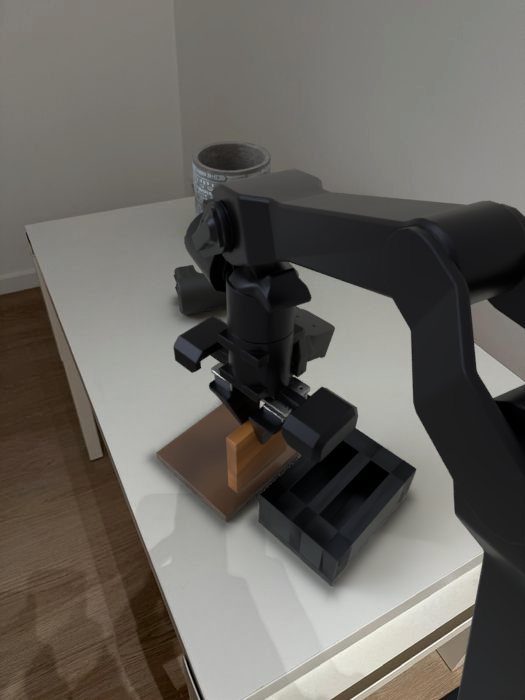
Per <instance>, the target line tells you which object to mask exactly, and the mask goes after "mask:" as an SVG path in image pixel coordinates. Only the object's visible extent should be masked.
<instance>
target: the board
mask: <svg viewBox="0 0 525 700" xmlns="http://www.w3.org/2000/svg"><path fill="white" fill-rule="evenodd" d="M240 426H241V425H240V423H239V422H238V421H237V420H236V418H235V417H234V416H233V415H232V414H231V412H230V411H229V410H228V409H227V408H226V406H225V405H224V404H223V403H221V404H220V405H219V406H217V407H216V408H214V409H213V410H212V411H210V412H209V413H208V414H206V415H205V416H204V417H202V418H201V419H199V420H198V421H196V422H195V423H194V424H193V425H191V426H190V427H189V428H187V429H186V430H184V431H183V432H182V433H181V434H179V435H178V436H177V437H175V438H174V439H173V440H171V441H170V442H169V443H167V444H165V446H163V447H162V448H160V449H159V450H158V451H156V452H155V454H156V459H157V460H158V461H159V462H160V463H161V464H162V465H163V466H164V467H166V468H167V469H168V470H169V471H170V472H171V473H172V475H174V476H175V477H176V478H177V479H178V480H179V481H180V482H181V483H183V484H184V485H185V486H186V487H187V488H188V489H189V490H190V491H191V492H193V494H195V495H196V497H198V498H199V499H200V500H201V501H202V502H203V503H204V504H205V505H206V506H208V507H209V508H210V510H212V511H213V512H214V513H215V514H216V515H217V516H218V517H219V518H221V519H222V520H223V521H224V522H225V523H228V521H229V520H231V518H233V517H234V516H235V515H236V514H237V513H238V512H239V511H240V510H241V509H243V507H244V506H245V505H247V504H248V503H249V502H250V501H251V500H252V499H253V498H254V497H256V495H257V494H259V493H260V492H261V491H262V490H263V489H264V488H265V487H266V486H267V485H268V484H269V483H271V482H273V481H274V479H275V478H277V476H279V474H280V473H282V472H283V471H285V470H286V469H287V467H288V466H289V465H290V464H292V462H294V460H296V459H298V456H299V455H298V454H299V453H298V452H297V451H295V450H294V449H293V448H291V447H290V446H289V445H288V444H287V446H286V450H285V451H284V452H283V453H282V454H281V455H280V456H279V457H278V458H276V459H275V460H274V461H273V462H272V463H271V464H270V465H269V466H268V467H266V468H265V469H264V470H263V471H262V472H261V473H260V474H259V475H258V476H256V477H255V478H254V479H253V480H252V481H251V482H250V483H249V484H247V485H246V486H245V487H244V488H243V489H242V490H241V491H240V492H239V493H236V492H235V491H234V490H232V489H231V488H230V487H229V486H228V465H227V445H226V437H228V436H229V435H230V434H231V433H233V432H234V431H235V430H236V429H238V428H239V427H240Z"/></svg>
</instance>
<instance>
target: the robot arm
mask: <svg viewBox="0 0 525 700" xmlns="http://www.w3.org/2000/svg"><path fill="white" fill-rule="evenodd" d="M211 193H212V196H213V198H211V199H207V200H203V201H202V204H203V212H202V213H200V214H199V215H198V216H197V215H196V216H195V217H194V219H192V221H191V222H190V223H189V225H188V227H187V229H186V232H185V235H184V237H183V241H184V246H185V250H186V251H187V253H188V255H189V256H190V257H191V259H192V260H193V262H194V263H195V264H196V266H197V267H198V269H200V271H201V273H203V274H204V275H205V277H206V278H207V279H208V281H209V282H210V284H211V285H212V286H213V288H214V289H215V290H216V291H221V292H225V293H226V299H227V307H226V321H224V320H222V319H221V318H218V317H216V316H214V315H211V316H209V317H208V318H206V319H204V320H203V321H201V322H199V323H198V324H196V325H194V326H192V327H191V328H189V329H188V330H186V331H184V332H183V333H181V334H180V335H178V336H177V337H176V340H175V342H174V343H173V347H172V348H173V354H174V361H175V362H177V364H179V365H180V366H181V367H183V368H185V370H187V371H188V372H190V373H191V374H194V373H196V372H198V371H199V370H201V369H202V362H203V360H206V359H207V358H209V357H212V358H213V359H214V360H216V361H217V364H215V365H214V366H212V367H211V368H210V372H211V373H212V375H213V377H214V379H213V380H211V381H210V382H209V383H208V389H209V390H210V392H211V393H213V394H214V395H215V397H217V399H218V400H219V401H220V402H221V404H224V405H225V406H226V408H227V409H228V410H229V411H230V412H231V414H232V415H233V416H234V417H235V418H236V420H237V421H238V422H239V423H240V425H243V424H244V423H245V422H246V421H248V420H249V421H250V423H251V425H252V427H253V430H254V432H255V435H256V437H257V439H258V441H259V442H260V444H262V445H264V444H265V443H266V442H267V441H268V440H269V439H270V438H271V436H272V435H275V434H277V433H278V432H279V431H280V430H281V429H282V433H281V434H282V436H283V438H284V439H285V441H286V443H287V444H288V445H289V446H290V447H291V448H293V449H294V450H295V451H297V452H298V454H299V455H300V456H303V457H305V458H306V459H307V460H309V461H310V462H321V461H322V460H323V459H324V458H325V457H326V456H327V455H328V454H329V453H330V452H331V451H332V450H333V449H334V448H335V447H336V446H337V445H338V444H339V443H340V442H341V441H342V440H343V439H345V438H346V437H347V436H348V435H349V434H350V433H351V432H352V431H353V430H354V429H355V428H357V423H358V418H359V411H358V407H357V406H355V405H354V404H353V403H351V402H350V401H349V400H346V399H345V398H343V397H342V396H340V395H338V394H337V393H336V392H334V391H333V390H331V389H329V388H328V387H326V386H320V387H319V388H318V389H317V390H315V392H313V393H312V394H311V395H310V392H311V389H312V388H311V386H310V385H308V384H307V383H305V382H304V381H302V380H300V378H299V377H300V376H302V375H303V374H305V373H306V371H307V366H308V362H309V363H310V362H312V361H314V360H317V359H319V358H320V359H323V358H325V357H326V356H327V353H328V350H329V347H330V345H331V342H332V339H333V336H334V333H335V331H336V327H335V326H334V325H333V324H332V323H330V322H328V321H327V320H325V319H324V318H321V317H319V316H318V315H316V314H314V313H312V312H311V311H309V310H307V309H305V308H302V307H301V308H300V307H299V306H301V305H304V304H307V303H310V302H311V301H312V293H311V292H310V289H309V287H308V285H307V284H306V283H305V282H304V281H303V280H302V279H301V278H300V273H299V271H298V270H297V269H296V268H295V267H294V266H293V265H296V266H299V267H302V268H305V269H307V270H310V271H313V272H316V273H317V274H321V275H324V276H327V277H329V278H333V279H336V280H339V281H341V282H344V283H348V284H351V285H353V286H355V287H358V288H360V289H364V290H367V291H369V292H372V293H375V294H378V295H381V296H384V297H387V298H390V299H392V301H393V302H394V304H395V306H396V308H397V310H398V311H399V313H400V314H401V316H402V318H403V320H404V321H405V323H406V325H407V327H408V328H409V331H410V349H411V350H410V351H411V353H410V354H411V380H412V381H411V382H412V402H413V404H412V405H413V408H414V411H415V414H416V415H417V418H418V419H419V421H420V423H421V425H422V426H423V428H424V430H425V432H426V434H427V435H428V437H429V439H430V441H431V443H432V444H433V447H434V448H435V450H436V452H437V453H438V456H439V458H440V459H441V461H442V463H443V465H444V466H445V468H446V470H447V472H448V473H449V476H450V477H451V479H452V488H453V510H454V514H455V516H456V518H457V519H458V521H460V523H461V525H463V527H464V528H465V529H466V530H467V532H468V533H469V534H470V536H472V538H473V539H474V541H476V543H477V544H478V545H479V546H480V547H481V549H482V551H483V557H482V561H481V567H480V571H479V572H480V573H479V578H478V584H477V590H476V595H475V601H474V606H473V611H472V616H471V623H470V626H469V627H470V628H469V632H468V639H467V643H466V649H465V655H464V659H463V665H462V671H461V677H460V682H459V685H458V686H456V687H455V688H453V689H452V690H450V691H449V692H447V693H446V694H444V695H443V696H441V697H440V698H439V699H438V700H525V383H524V384H521V385H520V386H517V387H515V388H512V389H511V390H508V391H506V392H503V393H501V394H499V395H496V396H493V395H492V394H491V392H490V391H489V389H488V387H487V386H486V384H485V382H484V381H483V379H482V378H481V376H480V374H479V372H478V368H477V367H478V366H477V358H476V348H475V334H474V325H473V315H472V305H475V304H477V303H480V302H483V301H487V302H488V303H489V304H490V305H491V306H492V307H493V308H494V309H495V310H497V311H498V312H500V313H501V314H503V315H504V316H505V317H507V318H508V319H509V320H511V321H512V322H514V323H515V324H517V325H518V326H519V327H521V328H522V329H524V330H525V215H524V214H523V213H522V212H521V211H520V210H518V208H517V207H514V206H512V205H509V204H505V203H500V202H496V201H493V200H480V201H476V202H472V203H469V204H463V203H455V202H454V203H452V202H442V201H431V200H420V199H408V198H400V197H399V198H398V197H389V196H388V197H387V196H377V195H367V194H355V193H344V192H336V191H335V192H333V191H329V190H327V189H324V187H323V181H322V180H321V178H320V177H318V176H315V175H313V174H310V173H308V172H305V171H302V170H300V169H298V168H291V169H286V170H280V171H275V172H270V173H269V174H264V175H259V176H254V177H248V178H243V179H238V180H233V181H228V182H223V183H218V184H216V185H215V186H214V188H213V190H212V192H211ZM292 264H293V265H292ZM261 402H262V403H263V405H261Z"/></svg>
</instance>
